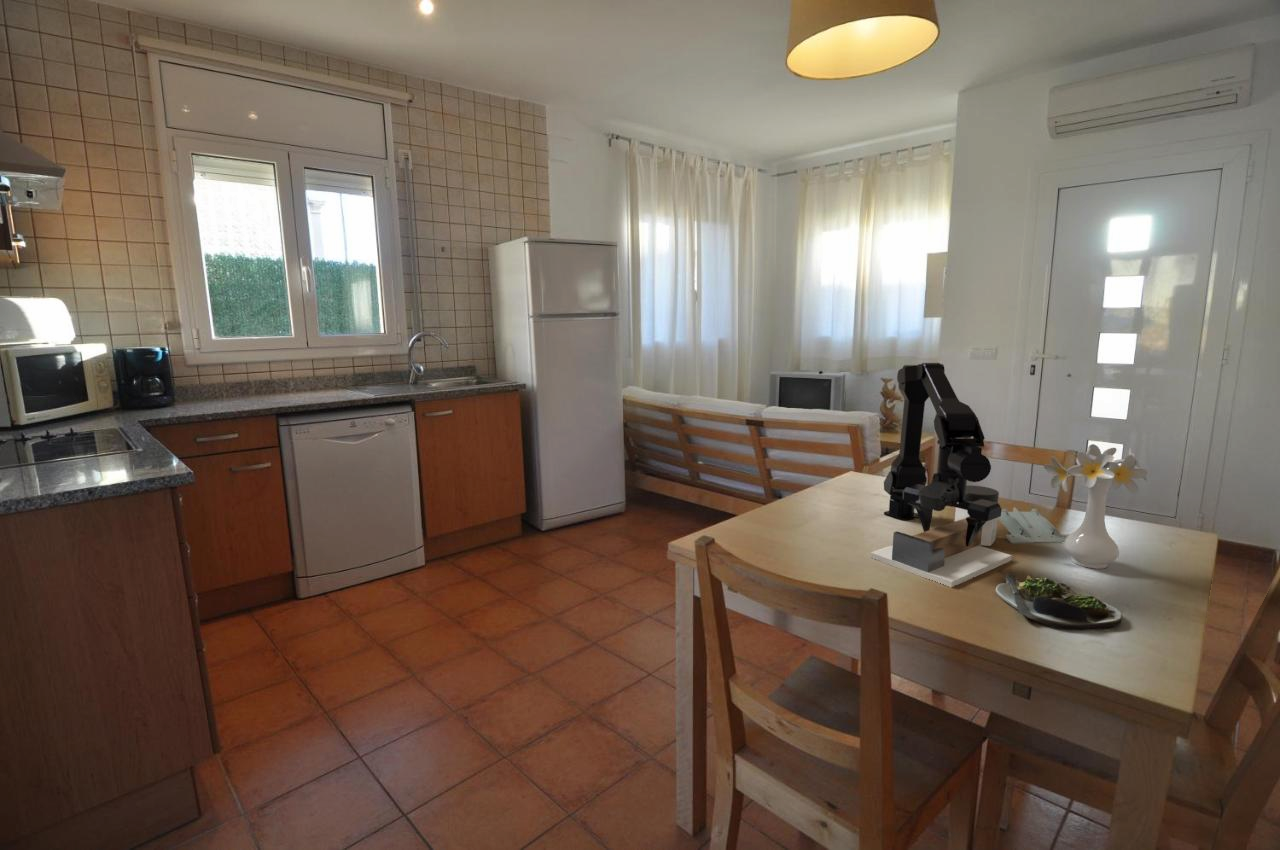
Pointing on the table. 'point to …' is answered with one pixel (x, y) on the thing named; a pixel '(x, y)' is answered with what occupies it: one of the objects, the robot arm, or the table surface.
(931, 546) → the bracket
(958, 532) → the walnut rail
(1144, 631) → the table surface
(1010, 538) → the pale green slanted stand
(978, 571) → the mounting board
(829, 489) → the table surface
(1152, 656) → the table surface
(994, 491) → the jar
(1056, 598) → the salad plate
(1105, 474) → the flower vase
